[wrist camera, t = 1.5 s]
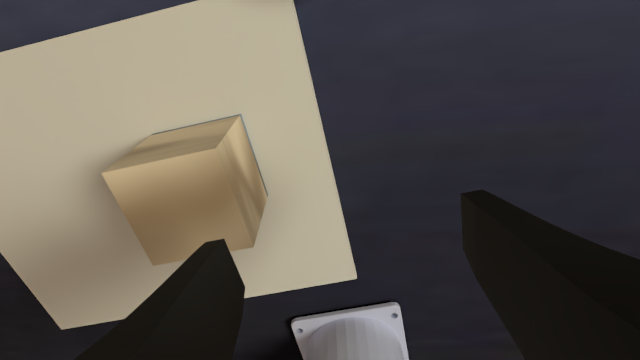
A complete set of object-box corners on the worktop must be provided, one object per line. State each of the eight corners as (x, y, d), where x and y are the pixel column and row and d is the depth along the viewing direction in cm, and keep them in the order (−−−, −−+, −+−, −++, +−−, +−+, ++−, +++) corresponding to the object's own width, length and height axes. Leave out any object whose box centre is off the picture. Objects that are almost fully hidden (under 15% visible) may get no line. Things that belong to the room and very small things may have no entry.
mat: (356, 272, 24) (357, 278, 23) (66, 323, 26) (61, 329, 26) (288, -23, 16) (287, -24, 16) (-117, 84, 18) (-131, 86, 18)
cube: (268, 194, 21) (253, 247, 16) (188, 210, 21) (153, 265, 17) (241, 113, 18) (215, 148, 14) (153, 133, 19) (101, 172, 14)
